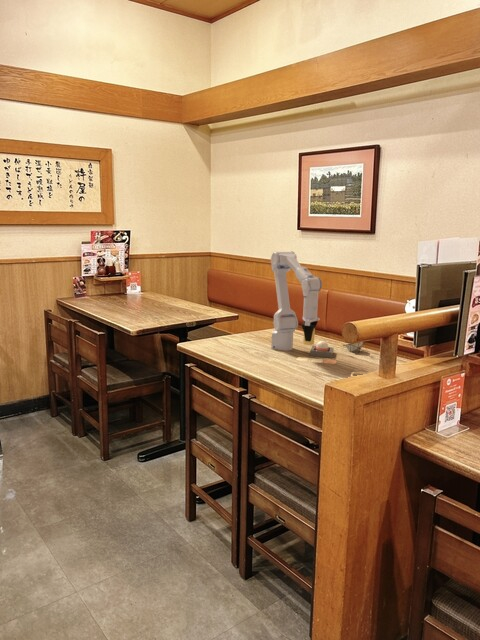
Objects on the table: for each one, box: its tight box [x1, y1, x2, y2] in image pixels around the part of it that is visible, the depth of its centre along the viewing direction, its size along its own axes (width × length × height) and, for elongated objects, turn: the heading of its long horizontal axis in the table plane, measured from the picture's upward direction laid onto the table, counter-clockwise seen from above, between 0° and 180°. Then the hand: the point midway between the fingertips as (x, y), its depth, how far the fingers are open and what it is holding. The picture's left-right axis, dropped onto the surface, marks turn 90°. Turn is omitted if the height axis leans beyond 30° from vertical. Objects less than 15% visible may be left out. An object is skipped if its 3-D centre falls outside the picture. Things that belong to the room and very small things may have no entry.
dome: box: [315, 340, 330, 352], centre depth 216 cm, size 6×6×5 cm
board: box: [296, 356, 337, 365], centre depth 212 cm, size 17×22×1 cm
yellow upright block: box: [302, 327, 316, 346], centre depth 206 cm, size 4×4×6 cm
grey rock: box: [342, 341, 366, 353], centre depth 224 cm, size 9×8×10 cm
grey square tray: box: [309, 345, 334, 359], centre depth 217 cm, size 9×9×2 cm
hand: (308, 339), depth 206 cm, fingers closed on yellow upright block, 4 cm apart
